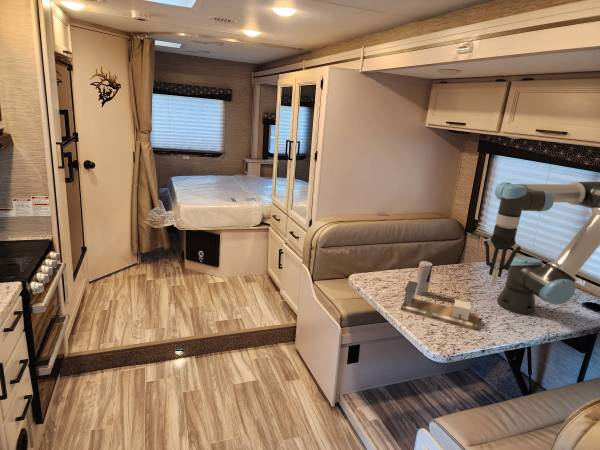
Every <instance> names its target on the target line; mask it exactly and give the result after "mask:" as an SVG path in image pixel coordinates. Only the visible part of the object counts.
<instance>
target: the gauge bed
mask: <svg viewBox="0 0 600 450" xmlns="http://www.w3.org/2000/svg"><path fill="white" fill-rule="evenodd" d="M403 304H404V301H403V302H402V304H401V306H400V311H403V312H407V313H410V314H414V315H418V316H422V317H425V318H430V319H433V320H437V321H440V322H444V323H449V324H452V325H456V326H459V327H463V328H466V329H470V330H475V331H478V329H479V316H480V314H478V313H474V312H469V317H468V321H467V320H463V319H461V320H460V319H459V318H455V317H452V313H453V308H454V307H451V306H447V305H446V306H445V305H442V304H438V303H435V302H430V301H427V300H422V299H418V298H415V297H414V300H413V303H412V305H411V307H409V306H404V305H403Z"/></svg>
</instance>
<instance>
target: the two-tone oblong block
mask: <svg viewBox="0 0 600 450" xmlns="http://www.w3.org/2000/svg"><path fill="white" fill-rule="evenodd" d="M417 285H418V283H417V282H416V281H412V280H408V282H407V284H406V286H405V288H404V291H405V293H404V299H403V302H404V304H403V303H402V304H403V305H404V306H409V307H411V305H412V303H413V300H414V298H415V296H416V292H415V291H416V287H417Z"/></svg>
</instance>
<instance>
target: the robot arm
mask: <svg viewBox="0 0 600 450" xmlns="http://www.w3.org/2000/svg"><path fill="white" fill-rule="evenodd" d="M494 196H495V197H496V199H498V200H500V202H499V207H498V212H497V216H496V220H495V225H494V227H493V233H492V234H491V236H490V238H487V239H486V238H485V239H483V244H484V246H485V260H486V261H485V264H486V266H488V267H489V271H488V273H489V274H488V275H489V276H491V278H490V281H489V283H490V284H489V285H492V286H493V285H494V286H496V284H497V281H498V278H501V277H502V273H503V270H508V271H507V272H508V273H507V277H506V281H505V282H506V283H505V286H504V287H503V289H502V290H501V292H500V293H499V295H498V296H497V300H496V302H497V304H498V305H499V306H500V307H502V308H503V309H504V310H506V311H507V310H508V311H509V312H512V313H517V314H521V315H531V313H532V314H534V313H535V312H536V311H535V310H536V306H537V305H536V300H535V296H536V297H538V298H540V299H541V300H543V301H544V302H547V303H549V304H551V305H562V304H564V303H567V302H568V301H569V300H571V299H572V298H573V296H574V295H575V293H576V292H575V291H576V288H577V287H576V284H575V283H576V281H577V278H576V274H577V273H578V272H579V271H580V269H582V267H583V265H584V264H585V263H587V261H588V260H589V259H590V258H591V256H592V255H593V254H594V253H595V251H596V250H597V249H598V248H599V247H600V181H573V182H570V183H569V184H568V183H561V184H559V183H557V184H555V183H553V184H552V183H550V184H547V183H546V184H545V183H537V184H536V183H511V182H506V181H503V182H500V183H499V184H497V186H495V189H494ZM554 203H568V204H570V205H572V206H573V205H574V206H581V207H586V208H589V209H591V213H592V214H591V216H590V217H589V218H588V219H587V221H586V222H585V223H584V224H583V225H582V227H581V228H580V229H579V231H578V232H576V234H575V235H574V237H573V238H572V239H571V240H570V241H569V242H568V244H567V245H566V246H565V248H564V249H563V250H562V251H561V252H560V254H558V256H557V257H556V259H554V260H553V261H551V262H547V263H546V264H545V265H544V264H543V263H544V262H543V261H542V260H541V259H539V258H536V257H531V256H520V255H519V256H517V253H518V252H520V251H521V250H522V247H521V245H519V244H517V243H516V236H517V232H518V227H519V225H520V219H521V215H522V212H547V211H550V210H551V208H553V206H554ZM491 244H492V245H493V247H494V250H493V255H492V259H491V261H490V245H491ZM511 248H512V251H511V253H510V255H509V256H508V258H507V261H506V262H505V260H506V256H507V252H508V250H510V249H511ZM499 250H502V251H501V252H502V253H501V256H500V261H499V265H498V266H496V262H497V257H498V254H499V252H500V251H499ZM543 265H544V266H543ZM533 312H534V313H533Z"/></svg>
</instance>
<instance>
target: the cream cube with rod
mask: <svg viewBox="0 0 600 450" xmlns="http://www.w3.org/2000/svg"><path fill="white" fill-rule="evenodd" d="M471 304H472V303H471V302H468V301H464V300H460V299H454V305H453V307H452V308H453V313H452V317H455V318H459V319H460V320H461V319H463V320H467V321H468V317H469V312H470V311H471ZM470 313H471V312H470Z"/></svg>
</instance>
